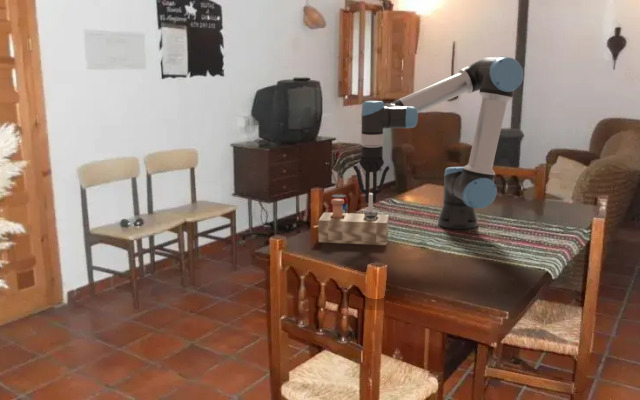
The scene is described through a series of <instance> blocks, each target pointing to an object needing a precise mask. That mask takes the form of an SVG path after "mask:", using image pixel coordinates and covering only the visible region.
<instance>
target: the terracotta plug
mask: <svg viewBox="0 0 640 400" xmlns="http://www.w3.org/2000/svg"><path fill="white" fill-rule="evenodd" d="M331 204H333V218H335V219H342V217H343V204H344V200H343V199H332V200H331Z"/></svg>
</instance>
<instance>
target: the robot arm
mask: <svg viewBox="0 0 640 400" xmlns="http://www.w3.org/2000/svg"><path fill="white" fill-rule="evenodd" d="M523 69H524V68H523V67H522V65H521V63H520V62H519V60H517V59H516V58H513V57H510V56H488V57H484V58H482V59H479V60H478V61H475V62H473V63H471V64H469V65H467V66H465V67H463V68H460V69H459V70H458V73H456V74H454V75H452V76H449V77H447V78H444V79H442V80H439V81H438V82H435V83H433V84H431V85H429V86H427V87H424V88H422V89H420V90H417V91H415V92H412V93H409V94H408V95H406V96H404V97H401V98H399V99H396V100H394V101H391V102H390V103H389V102H386V103H385V102H384V101H382V100H365V101H363V103H362V105H361V114H360V115H361V135H360V137H361V138H360V142H361V143H360V144H361V147H360V160H359V162H358V163H357V164H354V165H353V167H352V168H353V170H354V172H355V173H356V177H357V181H358V182H357V183H358V186H359V191H360V193H364V194H365V197H364V198H365V203H366V204H367V203H368V208H367V209H368V210H367V211H368V212H371V213H373V211H374V204H376V203H377V194H380V193H381V192H382V191H383V187H384V183H385V180H386V176H387V173H388V171H389V170H390V168H391V167H390V165H388V164H386V163H385V161H384V159H383V154H384V153H383V152H384V151H383V148H384V147H383V144H384V139H383V138H384V129H407V130H408V129H413V128H416V126H417V124H418V121H419V113H421V112H424V111H426V110H428V109H431V108H433V107H435V106H437V105H441V104H442V103H444V102H446V101H449V100H451V99H453V98H455V97H458V96H461V95H463V94H465V93H467V94H472V93H474V92H477V91H479V95H480V96H481V98H482V99H481V104H480V108H479V111H478V112H479V113H478V116H477V117H478V118H477V123H476V127H475V132H474V136H473V142H472V146H471V150H470V155H469V159H468V163H467V164H466V165H464V166H449V167H446V168H445V170H444V175H443V177H444V179H443V181H444V182H443V203H442V206H441V209H440V213H439V215H438V220H437V224H438V225H439V226H441V227H442V228H446V229H451V230H452V229H454V230H471V229H475V228H477V227H478V224H479V223H478V221H479V220H478V218H477V213H476V209H477V210H478V209H479V210H480V209H485V208H487V207H488V206H491V204H492V203H494V201H495V199H496V197H497V194H498V189H497V185H496V184H495V178H496V172H495V170H494V169H493V167H494V162H495V158H496V157H495V156H496V153H497V148H498V143H499V140H500V135H501V131H502V127H503V122H504V117H505V112H506V109H507V105H508V102H510V101H511V100H513V97H514V95H515V94H514V93H515V90H517V89H518V88H519V87H520V86H521V84H522V82H523V79H524V70H523ZM361 168H362V169H363V171H364V172H365V185H364V182H363V176H362V173H361ZM381 168H382V170H383V171H382V174H381V179H380V181H379V186H378V172H379V170H380V169H381ZM371 173H372V192H370V190H371V189H370V185H371V182H370V179H371V178H370V177H371Z"/></svg>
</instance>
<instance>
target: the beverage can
mask: <svg viewBox="0 0 640 400" xmlns="http://www.w3.org/2000/svg"><path fill="white" fill-rule="evenodd" d="M332 199H343V200H344V204H343V213H348V212H349V211H348V210H349V209H348V208H349V207H348V206H349V205H348V203H349V201H348V200H349V198H347V195H346V194H343V193H335V194H334V193H333V194H332V195H331V198H330V202H329V203H330V204H329V206H330V208H329V209H330V211H329V213H333V204H331V200H332Z"/></svg>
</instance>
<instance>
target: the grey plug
mask: <svg viewBox="0 0 640 400" xmlns="http://www.w3.org/2000/svg"><path fill="white" fill-rule="evenodd" d="M363 214H364V216H366V220H376V216H377V214H378V211H377V210H373V213H371V212H368V210H367V211H366V210H365V211H364V213H363Z"/></svg>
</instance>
